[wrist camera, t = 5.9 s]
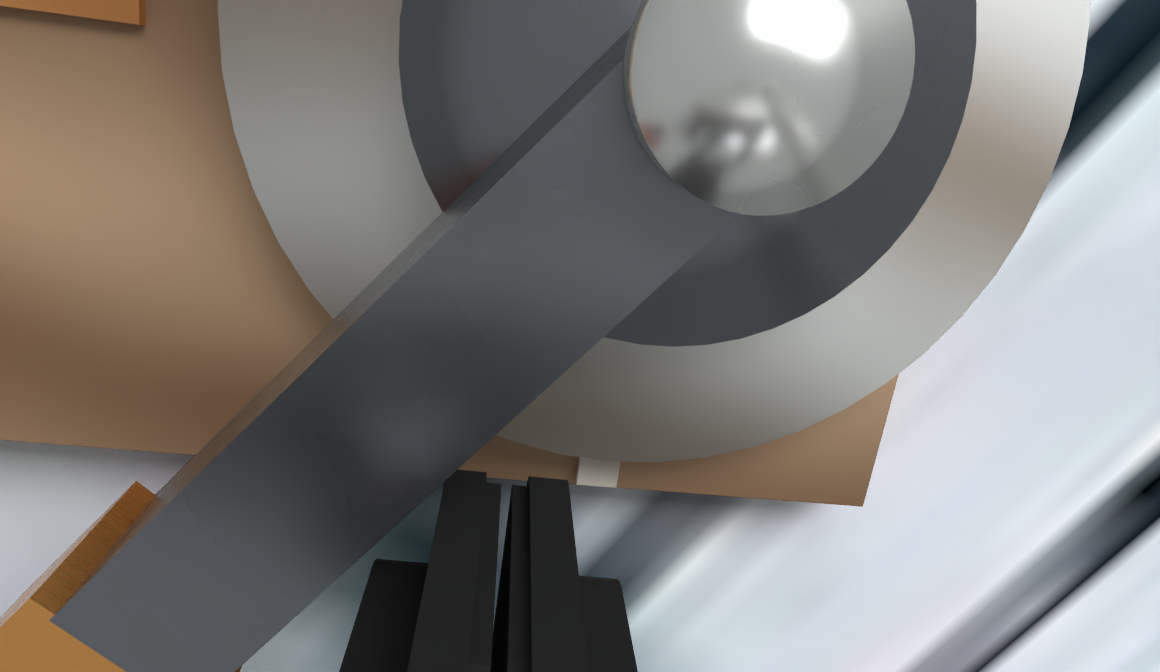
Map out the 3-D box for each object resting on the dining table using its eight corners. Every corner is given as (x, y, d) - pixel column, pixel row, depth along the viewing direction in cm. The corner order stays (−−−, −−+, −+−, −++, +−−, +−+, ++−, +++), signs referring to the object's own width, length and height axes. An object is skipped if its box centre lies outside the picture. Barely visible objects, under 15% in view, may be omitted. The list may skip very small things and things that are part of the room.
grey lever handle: (706, -382, 9) (860, -740, 5) (1023, 84, 11) (1317, 93, 7) (-68, 447, 12) (-381, 652, 7) (309, 709, 14) (222, 985, 9)
